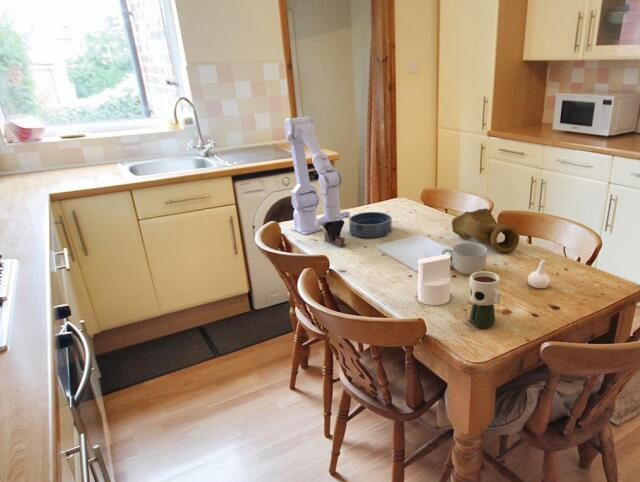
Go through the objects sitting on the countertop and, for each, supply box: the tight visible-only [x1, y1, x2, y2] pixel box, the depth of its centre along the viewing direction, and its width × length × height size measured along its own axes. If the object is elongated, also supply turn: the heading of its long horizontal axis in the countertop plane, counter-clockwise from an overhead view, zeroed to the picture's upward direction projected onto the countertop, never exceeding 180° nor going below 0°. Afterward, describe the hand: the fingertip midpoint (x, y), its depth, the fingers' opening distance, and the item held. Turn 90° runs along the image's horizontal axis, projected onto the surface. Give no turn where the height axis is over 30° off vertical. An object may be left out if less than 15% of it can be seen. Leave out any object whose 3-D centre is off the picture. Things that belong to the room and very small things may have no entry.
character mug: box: [468, 270, 502, 329], centre depth 115 cm, size 11×7×13 cm, turn 30°
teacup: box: [440, 241, 488, 277], centre depth 146 cm, size 14×11×8 cm
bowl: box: [348, 211, 393, 239], centre depth 183 cm, size 17×17×6 cm
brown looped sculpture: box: [451, 207, 520, 254], centre depth 167 cm, size 18×13×22 cm
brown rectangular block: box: [323, 231, 346, 248], centre depth 172 cm, size 10×2×3 cm, turn 43°
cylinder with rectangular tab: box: [417, 253, 451, 306], centre depth 129 cm, size 9×9×12 cm
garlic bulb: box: [527, 259, 551, 289], centre depth 135 cm, size 6×6×8 cm
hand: (334, 240), depth 173 cm, fingers closed on brown rectangular block, 2 cm apart
